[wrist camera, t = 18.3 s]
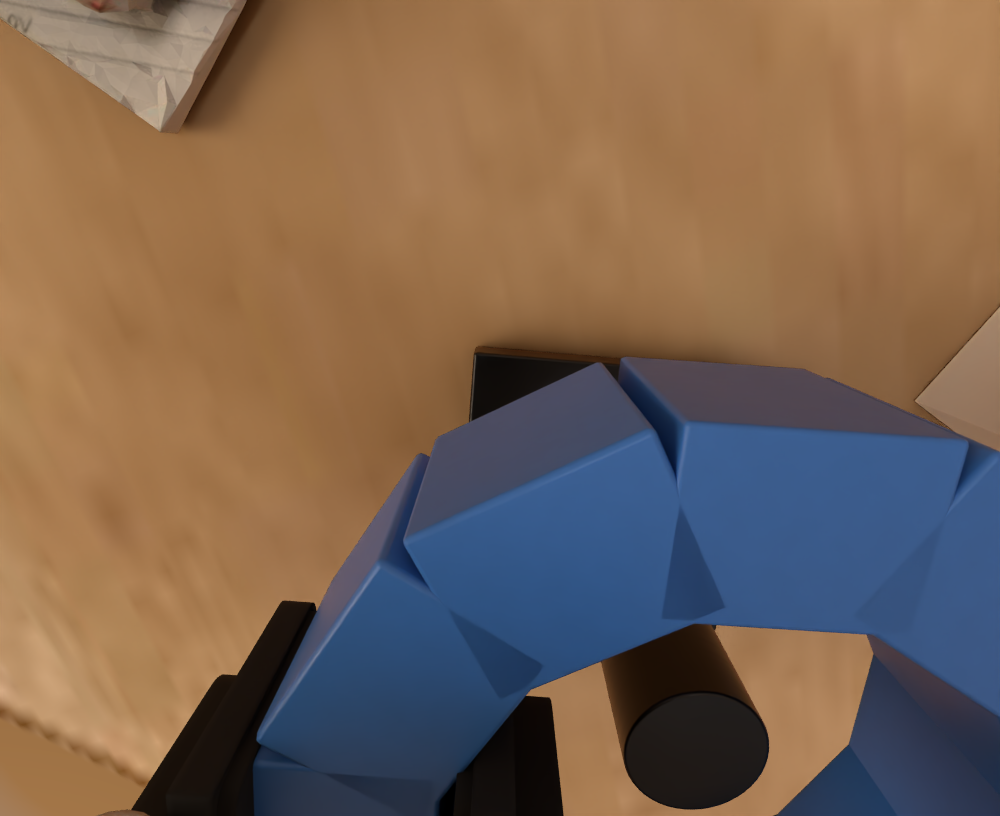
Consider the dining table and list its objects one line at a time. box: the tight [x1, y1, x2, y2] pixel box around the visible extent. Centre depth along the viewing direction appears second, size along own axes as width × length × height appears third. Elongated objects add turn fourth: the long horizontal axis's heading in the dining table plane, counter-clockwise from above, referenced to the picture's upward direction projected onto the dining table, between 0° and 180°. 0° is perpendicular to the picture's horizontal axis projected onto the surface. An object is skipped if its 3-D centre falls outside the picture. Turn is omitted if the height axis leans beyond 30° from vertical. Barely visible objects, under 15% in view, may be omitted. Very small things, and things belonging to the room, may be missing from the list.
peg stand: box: [469, 346, 769, 809], centre depth 15 cm, size 9×9×11 cm
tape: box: [253, 357, 1000, 816], centre depth 10 cm, size 12×12×4 cm
